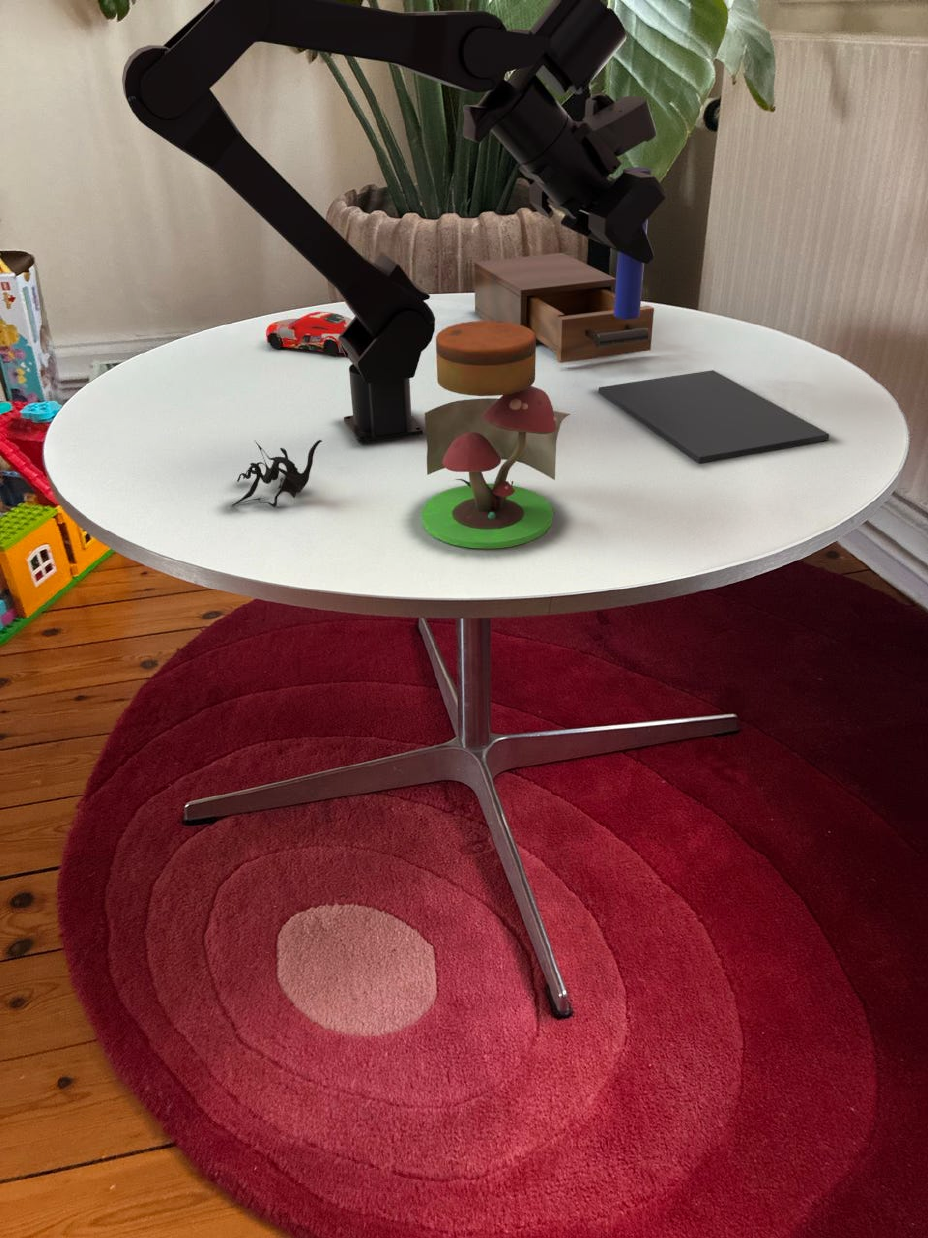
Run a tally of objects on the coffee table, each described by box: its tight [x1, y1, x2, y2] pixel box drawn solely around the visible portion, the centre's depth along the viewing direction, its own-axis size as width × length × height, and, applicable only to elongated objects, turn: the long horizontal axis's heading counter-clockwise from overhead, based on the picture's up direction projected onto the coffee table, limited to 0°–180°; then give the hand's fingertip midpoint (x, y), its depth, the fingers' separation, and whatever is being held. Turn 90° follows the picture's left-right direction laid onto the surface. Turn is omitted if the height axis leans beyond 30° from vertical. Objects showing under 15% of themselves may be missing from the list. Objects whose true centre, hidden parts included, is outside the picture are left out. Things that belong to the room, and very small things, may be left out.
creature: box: [230, 439, 324, 508], centre depth 82 cm, size 8×5×8 cm
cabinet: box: [473, 252, 616, 345], centre depth 123 cm, size 16×13×7 cm
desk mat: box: [597, 369, 830, 464], centre depth 97 cm, size 20×14×1 cm
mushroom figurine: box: [421, 320, 571, 549], centre depth 75 cm, size 12×13×15 cm
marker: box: [614, 166, 653, 319], centre depth 94 cm, size 3×3×14 cm
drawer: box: [526, 287, 655, 364], centre depth 113 cm, size 18×11×5 cm, turn 20°
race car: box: [265, 311, 353, 357], centre depth 117 cm, size 13×5×4 cm, turn 65°
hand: (643, 256), depth 95 cm, fingers closed on marker, 2 cm apart
